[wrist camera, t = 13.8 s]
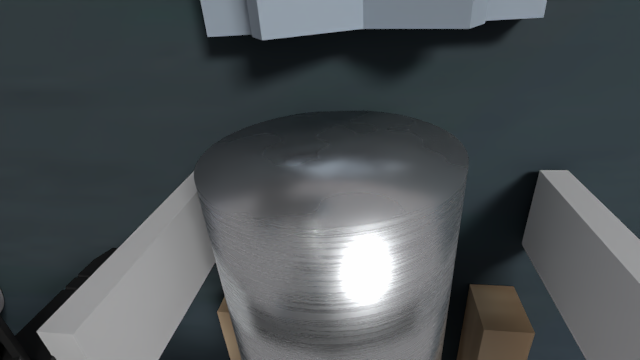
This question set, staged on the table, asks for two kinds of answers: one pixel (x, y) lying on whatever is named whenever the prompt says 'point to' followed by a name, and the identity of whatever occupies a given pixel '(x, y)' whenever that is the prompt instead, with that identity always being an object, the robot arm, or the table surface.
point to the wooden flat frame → (477, 331)
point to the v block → (355, 15)
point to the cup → (1, 301)
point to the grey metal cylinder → (335, 234)
